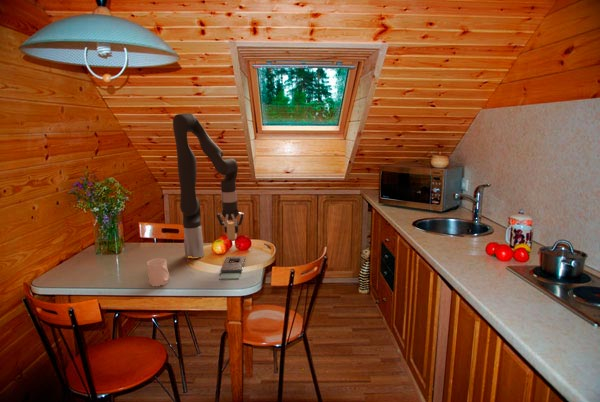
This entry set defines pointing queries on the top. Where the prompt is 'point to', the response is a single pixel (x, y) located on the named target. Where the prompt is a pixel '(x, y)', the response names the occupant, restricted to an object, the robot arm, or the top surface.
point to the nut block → (231, 230)
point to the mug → (157, 271)
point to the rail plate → (233, 265)
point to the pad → (229, 276)
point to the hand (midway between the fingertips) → (231, 232)
